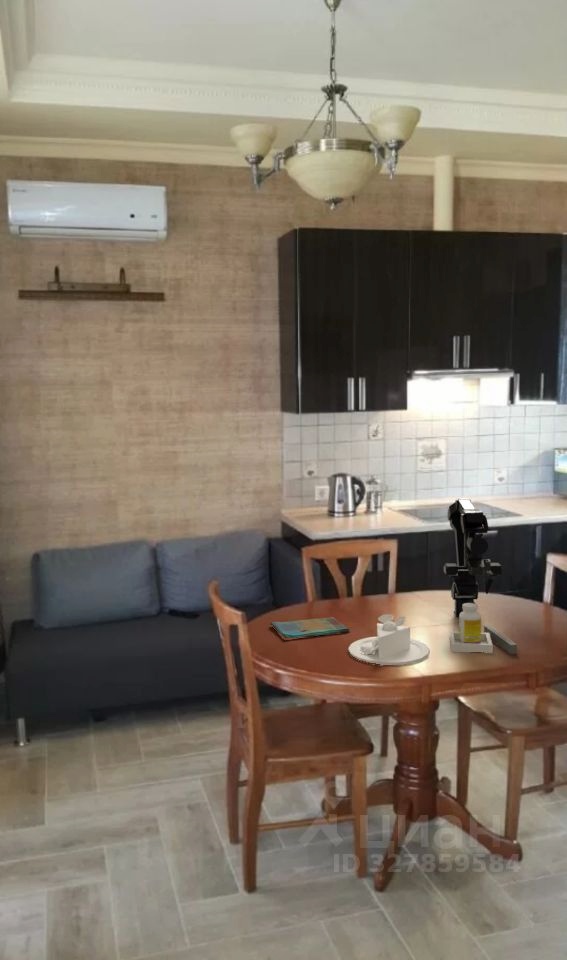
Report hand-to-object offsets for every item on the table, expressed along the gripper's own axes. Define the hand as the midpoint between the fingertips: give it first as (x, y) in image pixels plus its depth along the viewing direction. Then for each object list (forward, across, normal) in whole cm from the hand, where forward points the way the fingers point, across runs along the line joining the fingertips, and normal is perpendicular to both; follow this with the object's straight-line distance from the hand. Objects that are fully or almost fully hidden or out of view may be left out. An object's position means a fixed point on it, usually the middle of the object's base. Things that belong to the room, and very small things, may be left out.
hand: (472, 594), depth 266 cm
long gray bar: (+12, +6, -16) cm, 21 cm away
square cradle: (+12, -4, -18) cm, 22 cm away
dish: (+13, -30, -22) cm, 39 cm away
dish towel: (+13, -55, +1) cm, 56 cm away
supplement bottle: (+12, -4, -17) cm, 21 cm away
